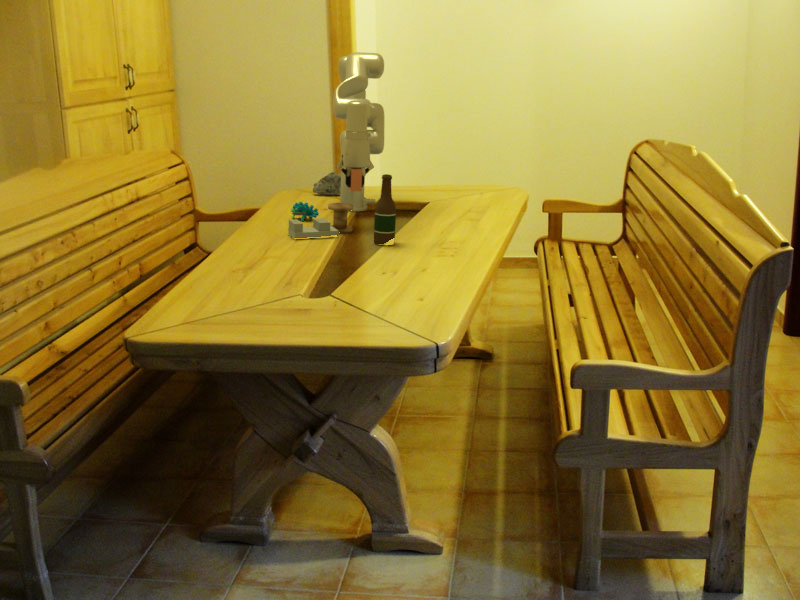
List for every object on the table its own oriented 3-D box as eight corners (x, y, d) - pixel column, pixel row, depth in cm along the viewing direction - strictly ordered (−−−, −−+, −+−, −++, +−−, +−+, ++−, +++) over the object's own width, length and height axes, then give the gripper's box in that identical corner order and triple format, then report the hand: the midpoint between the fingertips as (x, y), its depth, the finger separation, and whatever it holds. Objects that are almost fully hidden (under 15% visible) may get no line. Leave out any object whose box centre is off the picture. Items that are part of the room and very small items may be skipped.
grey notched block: (331, 232, 352) (331, 217, 350) (338, 237, 345) (338, 222, 343) (288, 234, 346) (288, 219, 344) (294, 240, 339) (294, 224, 337)
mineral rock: (311, 195, 413) (311, 172, 410) (319, 191, 423) (319, 168, 420) (340, 198, 411) (341, 174, 408) (347, 194, 421) (348, 170, 418)
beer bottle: (398, 242, 342) (402, 174, 335) (389, 247, 335) (392, 177, 328) (379, 239, 345) (381, 172, 338) (369, 244, 338) (371, 175, 331)
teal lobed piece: (323, 215, 370) (312, 200, 362) (319, 228, 368) (307, 213, 360) (299, 215, 375) (287, 200, 367) (294, 228, 373) (282, 213, 365)
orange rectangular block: (357, 189, 358) (358, 167, 356) (361, 191, 354) (362, 169, 352) (347, 189, 356) (348, 167, 354) (350, 191, 353) (351, 169, 351)
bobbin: (347, 227, 361) (348, 202, 358) (355, 233, 353) (356, 207, 350) (324, 228, 357) (324, 203, 354) (332, 234, 349) (332, 208, 347)
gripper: (375, 134, 356) (373, 184, 361) (330, 134, 350) (329, 185, 355) (381, 137, 349) (379, 188, 354) (336, 137, 344) (335, 189, 349)
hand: (354, 186), depth 355 cm, fingers closed on orange rectangular block, 3 cm apart
